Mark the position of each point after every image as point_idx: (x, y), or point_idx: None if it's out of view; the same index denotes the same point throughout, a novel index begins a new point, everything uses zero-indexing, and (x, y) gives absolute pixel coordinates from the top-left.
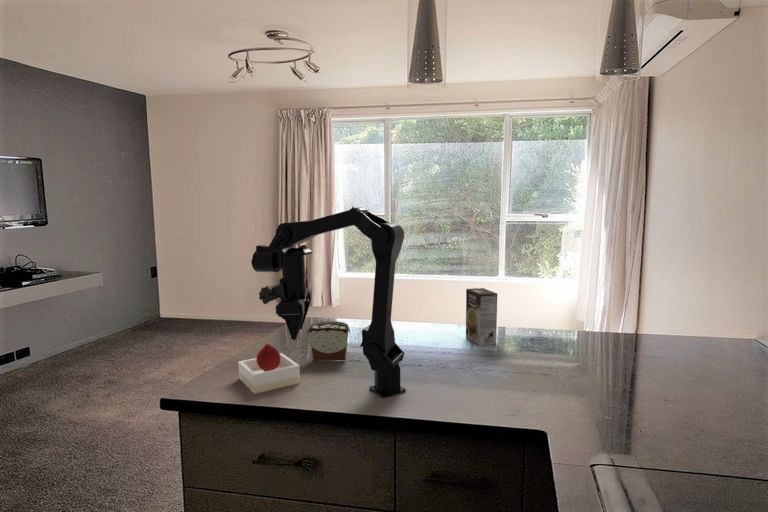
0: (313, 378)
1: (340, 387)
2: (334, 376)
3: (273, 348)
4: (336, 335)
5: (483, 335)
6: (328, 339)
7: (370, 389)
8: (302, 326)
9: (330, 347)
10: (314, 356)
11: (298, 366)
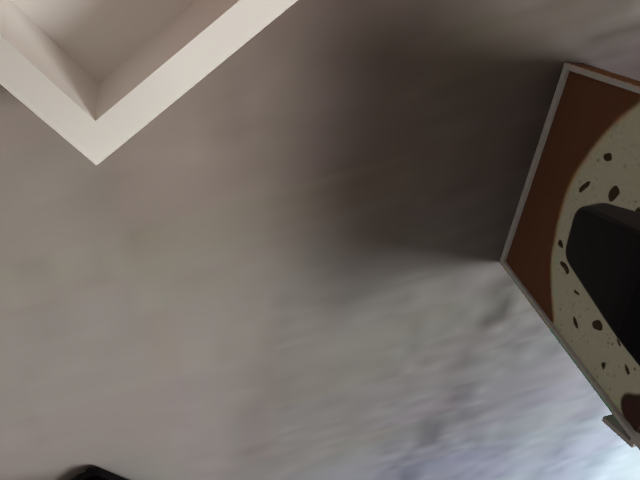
0: (213, 165)
1: (85, 352)
2: (260, 275)
3: None
4: None
5: None
6: None
7: (80, 474)
8: (592, 296)
9: None
10: (583, 86)
11: (85, 154)
